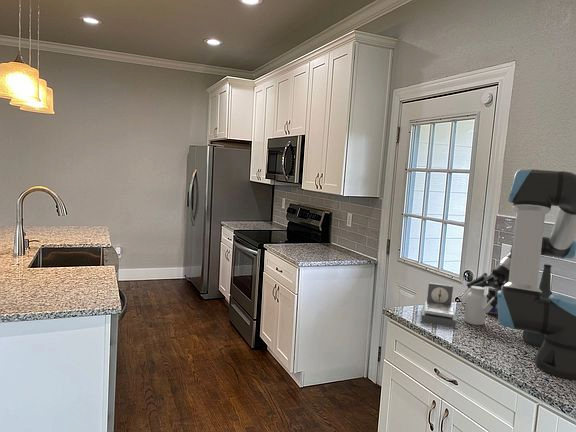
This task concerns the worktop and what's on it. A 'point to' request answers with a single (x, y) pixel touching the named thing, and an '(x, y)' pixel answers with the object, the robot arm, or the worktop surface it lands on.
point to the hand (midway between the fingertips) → (472, 305)
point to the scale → (440, 296)
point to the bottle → (544, 286)
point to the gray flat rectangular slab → (439, 309)
